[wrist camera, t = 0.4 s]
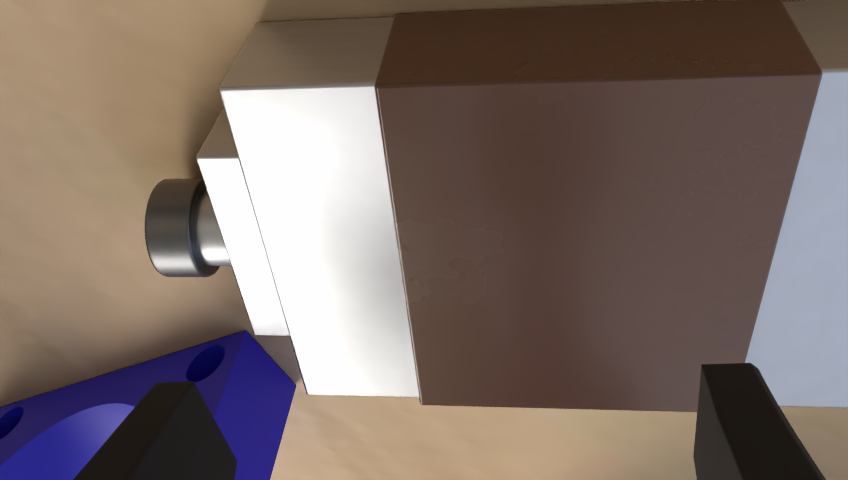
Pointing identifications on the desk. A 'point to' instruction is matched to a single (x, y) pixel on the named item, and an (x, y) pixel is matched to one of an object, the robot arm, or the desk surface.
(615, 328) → the brown slab with knob
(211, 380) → the cable clip
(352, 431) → the desk surface
